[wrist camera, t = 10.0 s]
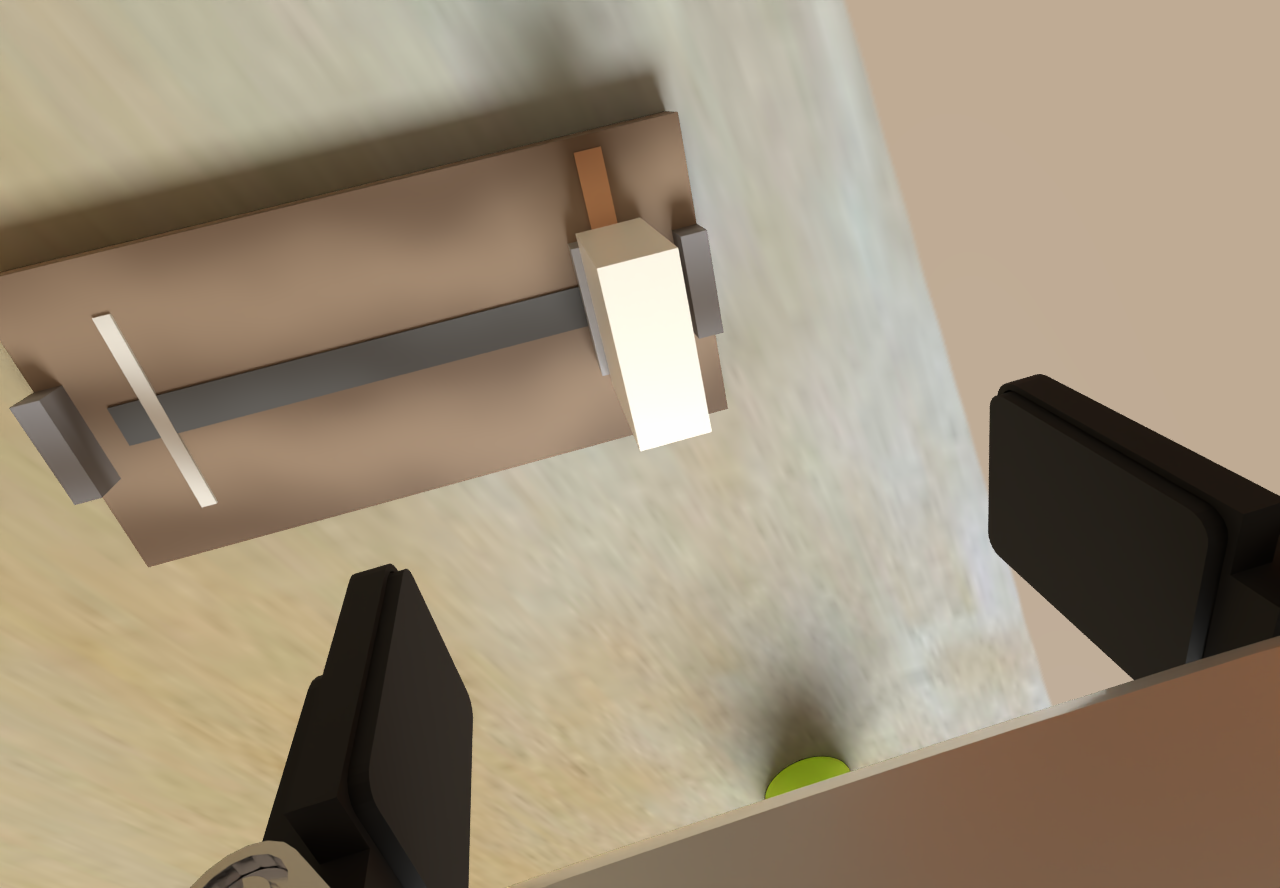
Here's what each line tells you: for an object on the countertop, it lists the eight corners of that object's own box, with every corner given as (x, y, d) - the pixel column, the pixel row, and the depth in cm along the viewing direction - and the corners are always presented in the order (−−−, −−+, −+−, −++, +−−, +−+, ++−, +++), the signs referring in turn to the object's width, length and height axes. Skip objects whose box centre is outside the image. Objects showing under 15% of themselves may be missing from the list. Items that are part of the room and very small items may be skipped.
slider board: (-1, 272, 26) (-67, 296, 23) (666, 111, 28) (687, 112, 25) (167, 540, 31) (131, 589, 28) (715, 392, 33) (738, 422, 30)
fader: (564, 230, 27) (586, 271, 20) (641, 210, 27) (687, 245, 21) (601, 377, 30) (631, 453, 23) (671, 358, 30) (720, 429, 23)
